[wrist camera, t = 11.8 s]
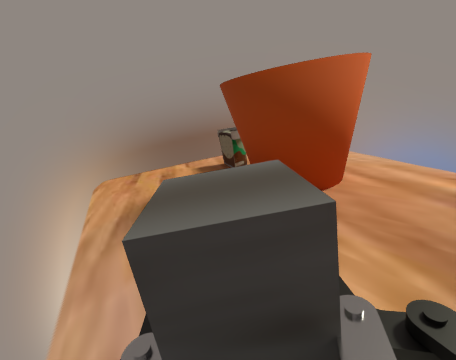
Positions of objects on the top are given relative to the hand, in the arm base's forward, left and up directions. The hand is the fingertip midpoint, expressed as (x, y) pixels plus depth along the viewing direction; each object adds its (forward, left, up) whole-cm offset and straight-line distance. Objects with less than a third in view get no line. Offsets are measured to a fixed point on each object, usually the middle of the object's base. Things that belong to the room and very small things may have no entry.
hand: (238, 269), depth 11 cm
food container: (-50, -28, -9) cm, 58 cm away
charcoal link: (+2, +2, -6) cm, 7 cm away
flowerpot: (-38, -8, -9) cm, 39 cm away
